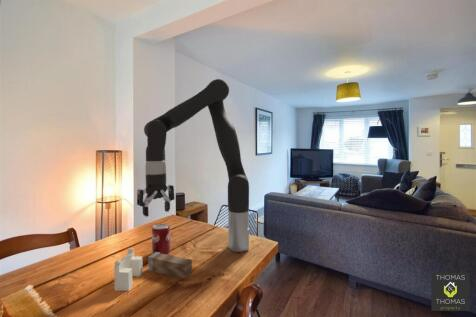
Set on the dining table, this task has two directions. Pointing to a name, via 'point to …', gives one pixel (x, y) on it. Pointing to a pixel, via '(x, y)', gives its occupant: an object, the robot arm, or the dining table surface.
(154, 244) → the soda can
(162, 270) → the rail
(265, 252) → the dining table surface
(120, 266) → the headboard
